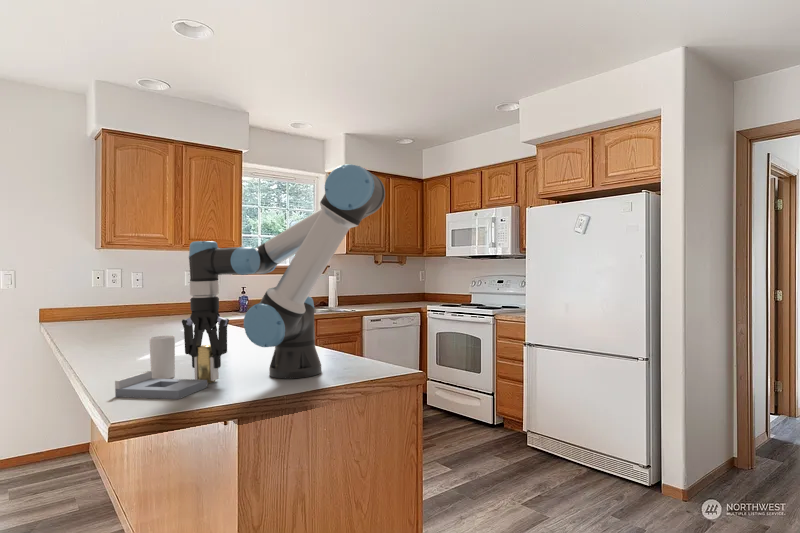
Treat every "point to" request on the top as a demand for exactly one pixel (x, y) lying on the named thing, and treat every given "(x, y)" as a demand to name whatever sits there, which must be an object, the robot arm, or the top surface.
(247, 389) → the top surface
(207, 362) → the gold rectangular block
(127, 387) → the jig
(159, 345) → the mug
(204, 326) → the robot arm
